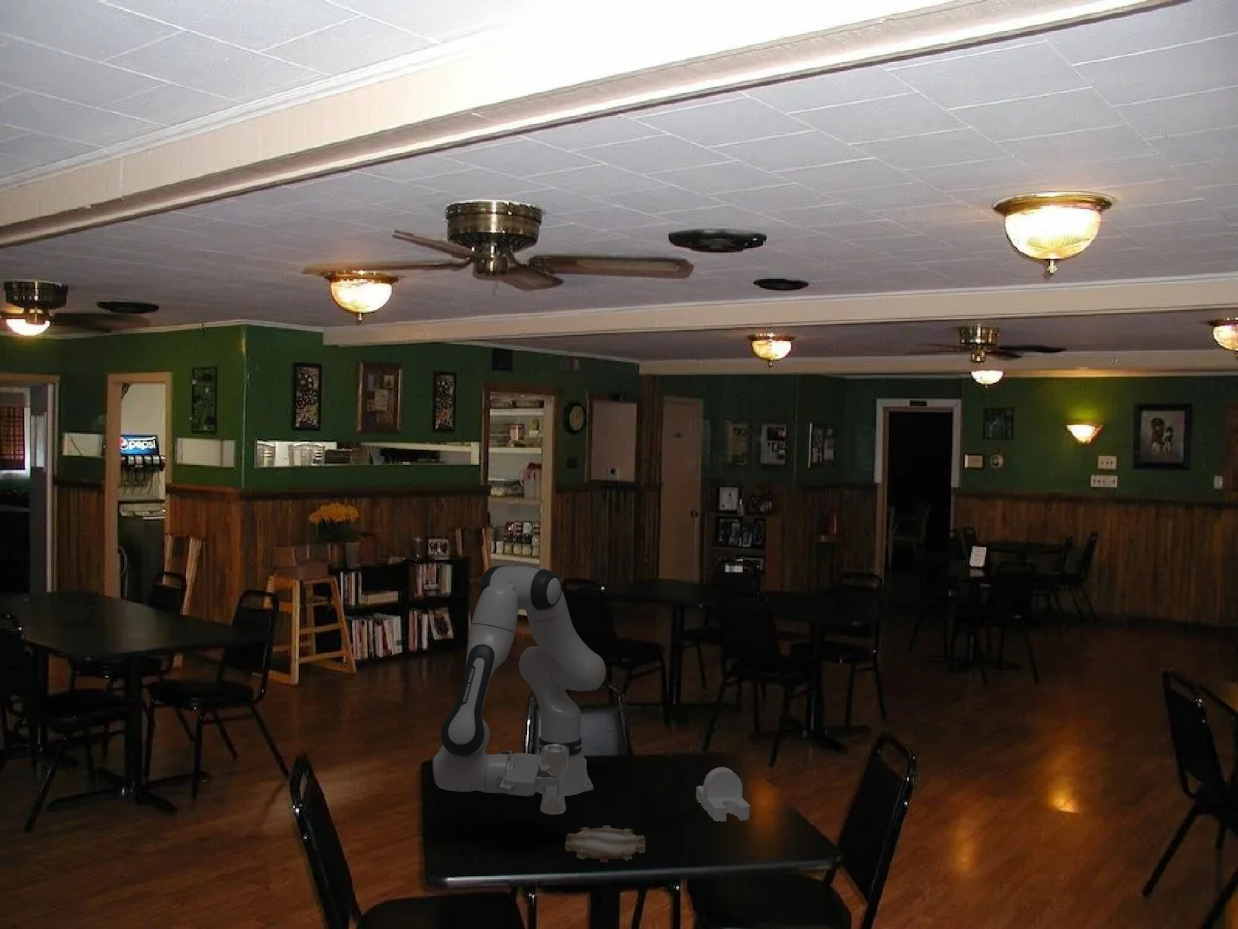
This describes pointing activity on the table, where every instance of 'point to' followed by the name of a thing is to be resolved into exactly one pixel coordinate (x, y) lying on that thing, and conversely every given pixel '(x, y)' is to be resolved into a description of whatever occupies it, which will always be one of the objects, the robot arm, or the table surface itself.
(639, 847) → the sprocket plate
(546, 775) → the beer glass
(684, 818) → the table surface
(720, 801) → the tape dispenser
